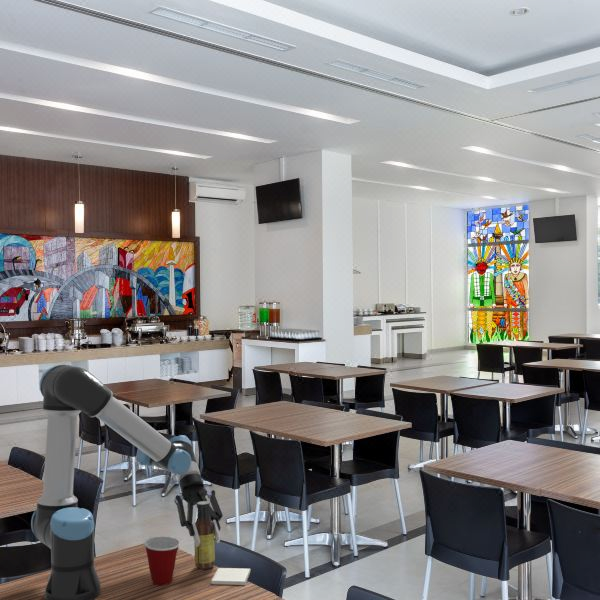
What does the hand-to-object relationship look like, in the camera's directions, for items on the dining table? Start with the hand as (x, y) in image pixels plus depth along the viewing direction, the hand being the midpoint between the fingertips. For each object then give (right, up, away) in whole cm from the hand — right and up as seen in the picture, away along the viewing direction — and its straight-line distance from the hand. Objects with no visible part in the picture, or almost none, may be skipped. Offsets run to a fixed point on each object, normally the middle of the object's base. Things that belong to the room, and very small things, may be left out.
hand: (208, 542), depth 215 cm
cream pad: (+8, -9, -6) cm, 13 cm away
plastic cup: (-13, -9, -8) cm, 17 cm away
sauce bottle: (-2, -9, +3) cm, 9 cm away
